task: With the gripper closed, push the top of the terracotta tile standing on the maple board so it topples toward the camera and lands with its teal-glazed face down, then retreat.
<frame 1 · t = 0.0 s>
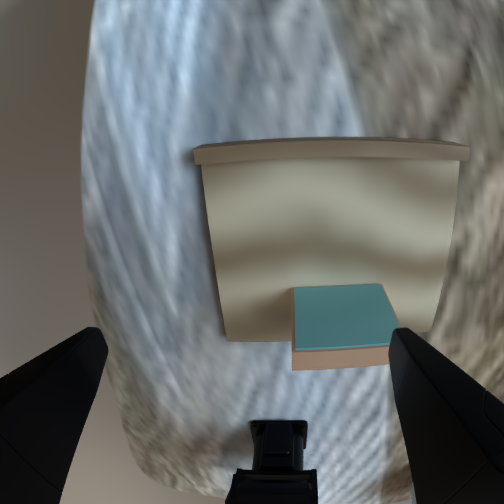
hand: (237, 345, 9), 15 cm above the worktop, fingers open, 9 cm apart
tile: (337, 294, 24), point 1 cm above the worktop, touching board
board: (337, 253, 23), on the worktop
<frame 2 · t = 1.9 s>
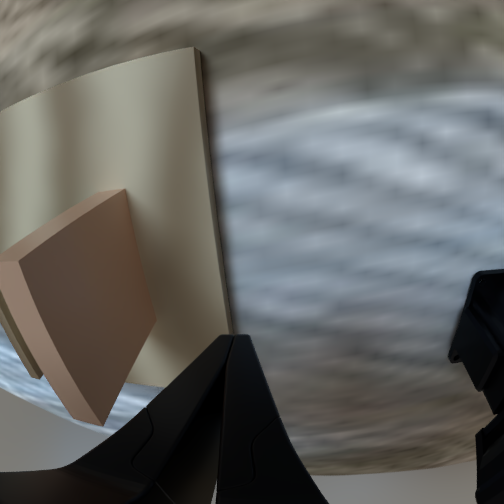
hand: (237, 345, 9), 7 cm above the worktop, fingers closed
tile: (127, 260, 15), point 1 cm above the worktop, touching board
board: (88, 253, 16), on the worktop
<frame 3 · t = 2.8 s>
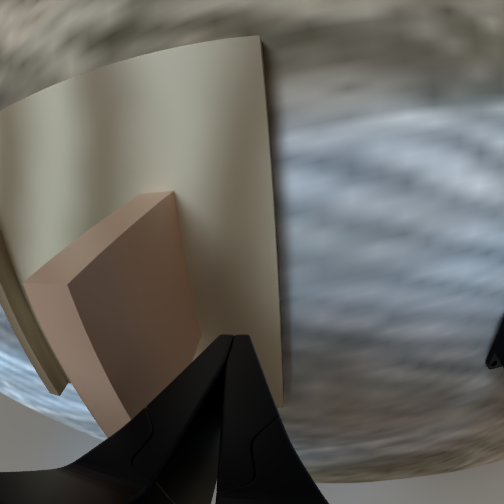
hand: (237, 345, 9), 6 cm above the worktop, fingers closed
tile: (171, 271, 13), point 1 cm above the worktop, touching board
board: (122, 262, 15), on the worktop
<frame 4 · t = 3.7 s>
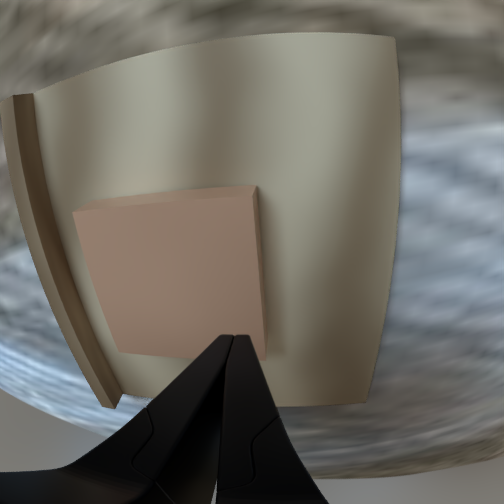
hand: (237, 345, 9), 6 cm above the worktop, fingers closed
tile: (261, 280, 12), point 2 cm above the worktop, tilted 90°, touching board
board: (216, 259, 14), on the worktop
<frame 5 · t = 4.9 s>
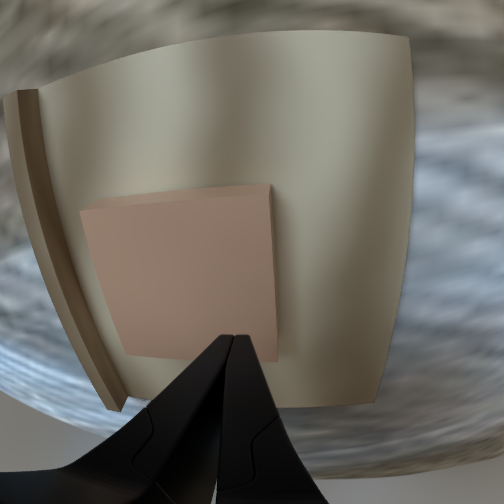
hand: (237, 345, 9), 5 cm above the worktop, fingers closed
tile: (275, 280, 12), point 2 cm above the worktop, tilted 90°, touching board
board: (227, 259, 14), on the worktop
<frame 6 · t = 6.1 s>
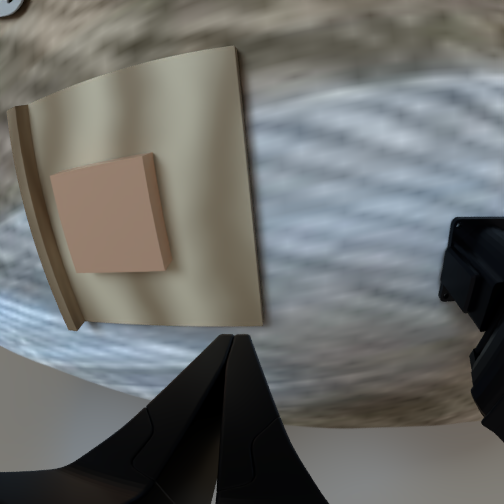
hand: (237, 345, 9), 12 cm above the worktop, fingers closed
tile: (157, 212, 18), point 2 cm above the worktop, tilted 90°, touching board
board: (139, 205, 20), on the worktop
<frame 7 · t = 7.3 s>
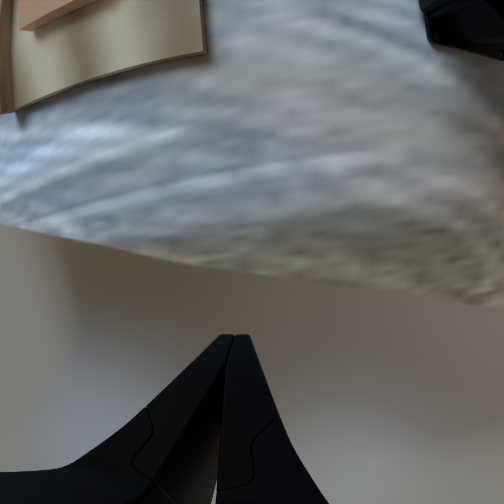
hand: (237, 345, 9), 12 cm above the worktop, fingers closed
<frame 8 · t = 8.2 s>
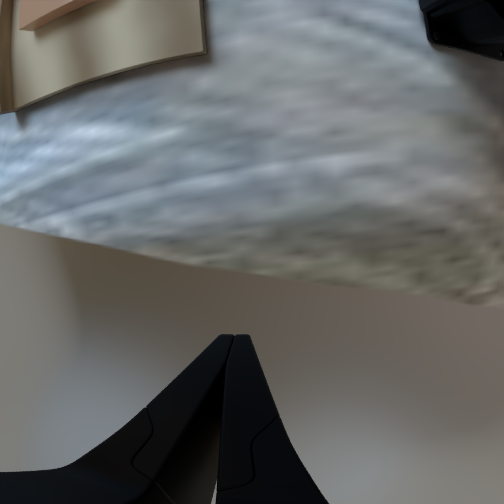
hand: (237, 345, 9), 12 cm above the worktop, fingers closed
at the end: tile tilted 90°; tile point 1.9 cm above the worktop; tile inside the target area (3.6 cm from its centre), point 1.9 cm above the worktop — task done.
